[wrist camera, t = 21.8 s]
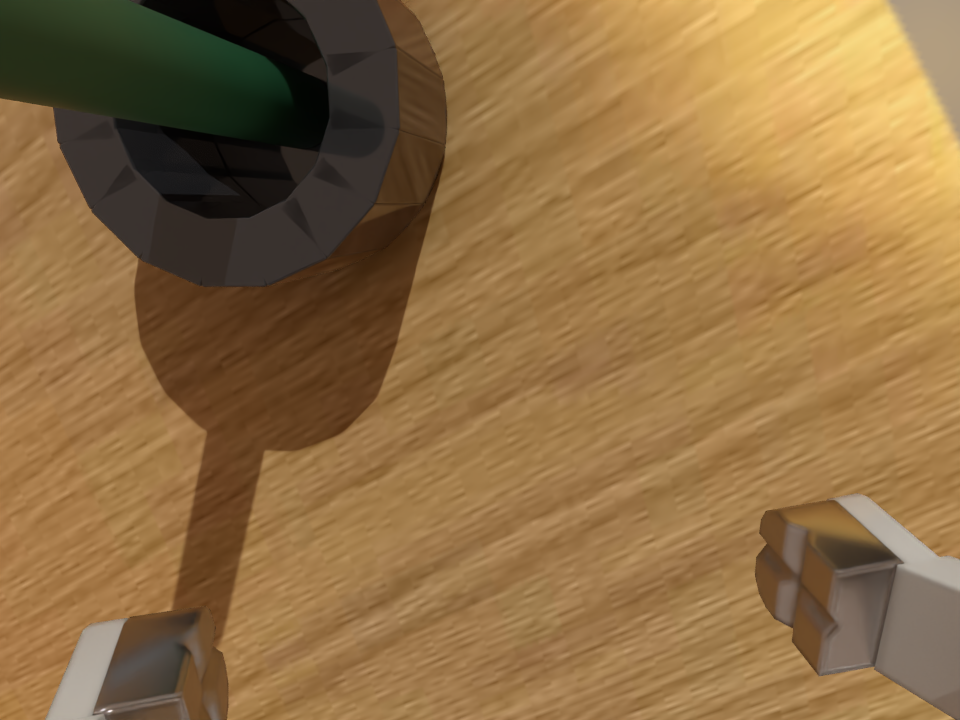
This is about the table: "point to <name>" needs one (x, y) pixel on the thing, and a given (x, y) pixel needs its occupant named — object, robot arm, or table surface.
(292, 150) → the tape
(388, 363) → the table surface
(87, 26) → the pencil
